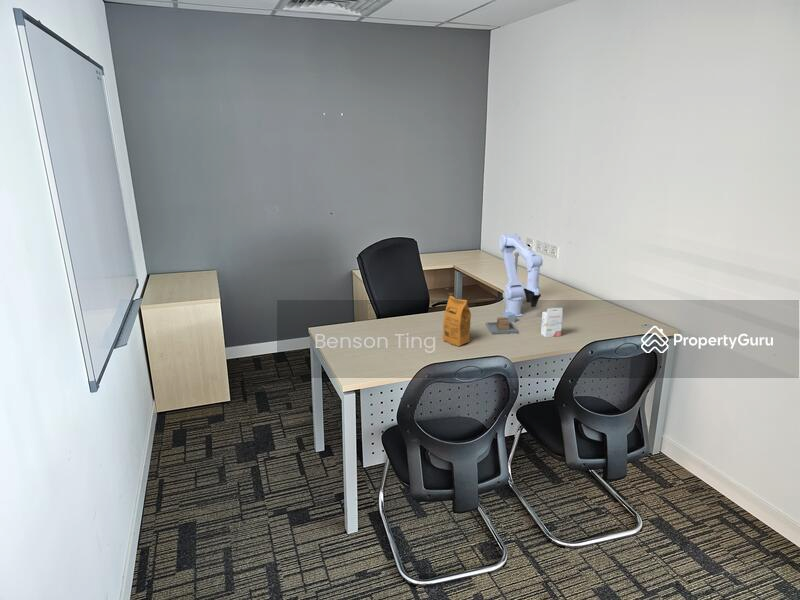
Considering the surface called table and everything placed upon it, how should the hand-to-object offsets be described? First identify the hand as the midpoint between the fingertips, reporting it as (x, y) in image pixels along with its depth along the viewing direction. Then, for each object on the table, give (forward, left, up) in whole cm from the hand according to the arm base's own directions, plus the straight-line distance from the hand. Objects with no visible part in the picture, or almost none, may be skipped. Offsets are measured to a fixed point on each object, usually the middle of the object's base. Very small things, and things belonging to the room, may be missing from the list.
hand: (531, 304), depth 271 cm
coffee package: (+21, -43, -11) cm, 49 cm away
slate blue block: (-4, -10, -10) cm, 15 cm away
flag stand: (-36, +2, -11) cm, 38 cm away
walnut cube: (+7, -16, -10) cm, 20 cm away
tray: (+7, -17, -10) cm, 21 cm away
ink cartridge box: (+17, +5, -11) cm, 21 cm away
